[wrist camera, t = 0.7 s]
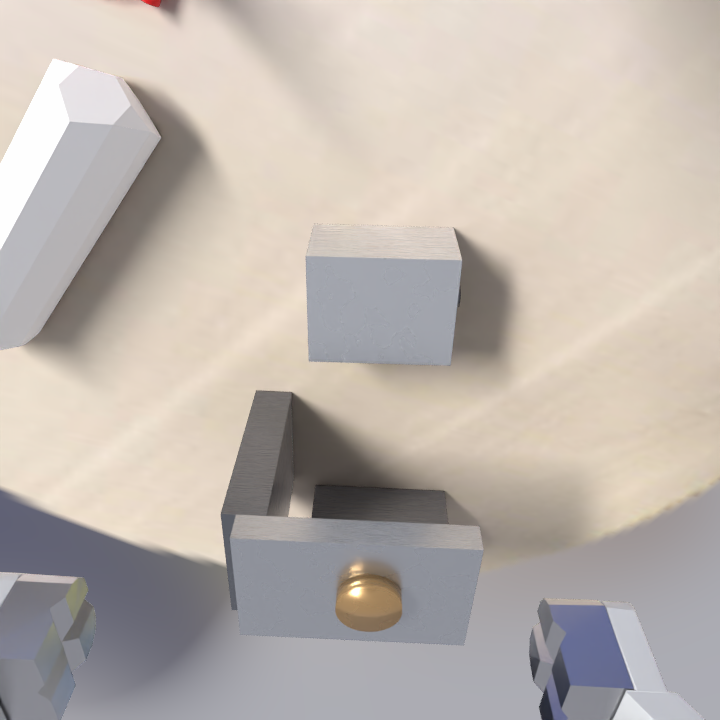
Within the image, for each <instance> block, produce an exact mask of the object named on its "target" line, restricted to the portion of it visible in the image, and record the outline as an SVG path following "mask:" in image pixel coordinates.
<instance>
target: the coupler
mask: <svg viewBox="0 0 720 720" xmlns="http://www.w3.org/2000/svg"><path fill="white" fill-rule="evenodd" d="M293 484H294V458H293V422H292V392H275V391H256V393H255V396H254V400H253V403H252V407H251V410H250V414H249V417H248V421H247V424H246V428H245V431H244V435H243V438H242V442H241V445H240V449H239V452H238V456H237V459H236V462H235V466H234V469H233V473H232V476H231V480H230V483H229V487H228V490H227V494H226V497H225V501H224V504H223V508H222V511H221V521H222V529H223V538H224V547H225V555H226V564H227V571H228V581H229V589H230V598H231V607H232V610H238V619H239V627H240V635H257V636H277V637H298V638H320V639H341V640H362V641H382V642H405V643H425V644H446V645H464V642H465V638H466V633H467V628H468V623H469V618H470V614H471V609H472V604H473V599H474V594H475V589H476V585H477V580H478V575H479V570H480V565H481V561H482V556H483V551H484V549H483V543H482V537H481V532H480V526H470V525H448V518H447V509H446V501H445V493H444V491H435V490H413V489H392V488H370V487H349V486H327V485H316V486H315V494H314V502H313V510H312V518H298V517H288V514H289V508H290V502H291V496H292V490H293Z"/></svg>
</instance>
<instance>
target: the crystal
mask: <svg viewBox="0 0 720 720" xmlns="http://www.w3.org/2000/svg"><path fill="white" fill-rule="evenodd" d="M65 108H66V109H65ZM81 122H82V123H81ZM94 123H95V124H94ZM106 124H108V125H106ZM115 125H116V126H115ZM121 126H122V127H121ZM126 127H127V128H126ZM137 129H138V130H137ZM160 139H161V136H160V134H159V133H158V131H157V129H156V127H155V126H154V124H153V122H152V121H151V119H150V117H149V115H148V114H147V112H146V111H145V109H144V108H143V106H142V104H141V103H140V101H139V100H138V98H137V97H136V95H135V94H134V93H133V91H132V90H131V89H130V87H129V86H128V85H127V83H126V82H125V81H124V79H123V78H122V77H118V76H115V75H111V74H108V73H104V72H101V71H97V70H94V69H90V68H87V67H83V66H79V65H76V64H72V63H69V62H65V61H62V60H58V59H53V60H52V62H51V64H50V66H49V68H48V70H47V72H46V74H45V76H44V78H43V80H42V82H41V84H40V86H39V88H38V90H37V92H36V94H35V96H34V98H33V100H32V102H31V104H30V106H29V108H28V110H27V112H26V114H25V116H24V118H23V120H22V122H21V124H20V126H19V128H18V130H17V132H16V134H15V136H14V138H13V140H12V142H11V144H10V146H9V148H8V150H7V152H6V154H5V156H4V158H3V160H2V162H1V164H0V350H3V349H9V348H14V347H19V346H22V345H25V344H26V343H27V342H29V341H30V340H31V339H32V338H34V337H35V336H36V335H37V334H39V333H40V331H41V329H42V328H43V326H44V325H45V323H46V321H47V320H48V318H49V317H50V315H51V313H52V312H53V310H54V309H55V307H56V305H57V304H58V302H59V301H60V299H61V297H62V296H63V294H64V293H65V291H66V289H67V288H68V286H69V285H70V283H71V281H72V280H73V278H74V277H75V275H76V273H77V272H78V270H79V269H80V267H81V265H82V264H83V262H84V261H85V259H86V257H87V256H88V254H89V253H90V251H91V249H92V248H93V246H94V245H95V243H96V241H97V240H98V238H99V237H100V235H101V233H102V232H103V230H104V229H105V227H106V225H107V224H108V222H109V221H110V219H111V217H112V216H113V214H114V213H115V211H116V209H117V208H118V206H119V204H120V203H121V201H122V200H123V198H124V196H125V195H126V193H127V192H128V190H129V188H130V187H131V185H132V184H133V182H134V180H135V179H136V177H137V176H138V174H139V172H140V171H141V169H142V168H143V166H144V164H145V163H146V161H147V160H148V158H149V156H150V155H151V153H152V152H153V150H154V148H155V147H156V145H157V144H158V142H159V140H160Z"/></svg>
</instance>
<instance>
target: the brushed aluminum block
mask: <svg viewBox="0 0 720 720" xmlns="http://www.w3.org/2000/svg"><path fill="white" fill-rule="evenodd" d="M461 268H462V257H461V253H460V250H459V246H458V242H457V239H456V235H455V231H454V227H420V226H383V225H346V224H314V225H313V229H312V233H311V237H310V241H309V245H308V249H307V253H306V284H307V317H308V349H309V361H314V362H347V363H381V364H415V365H448V366H450V365H451V357H452V348H453V339H454V330H455V321H456V312H457V307H459V305H460V296H461V289H460V277H461Z"/></svg>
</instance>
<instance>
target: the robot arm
mask: <svg viewBox="0 0 720 720" xmlns="http://www.w3.org/2000/svg"><path fill="white" fill-rule="evenodd" d="M87 592H88V587H87V584H86V582H85V579H84V578H80V577H65V576H51V575H37V574H23V573H4V572H0V720H61V718H62V716H63V714H64V711H65V709H66V707H67V704H68V702H69V700H70V697H71V695H72V693H73V690H74V688H75V681H74V678H73V674H72V672H73V671H74V670H75V669H77V668H78V667H79V666H80V665H81V664H82V663H83V662H85V661H86V659H87V657H88V654H89V652H90V649H91V647H92V644H93V639H94V634H95V630H96V615H95V611H94V607H93V606H92V605H91V604H90V603H89V602H87V601H86V600H85V596H86V594H87ZM538 615H539V619H540V622H539V623H538V624H536V625H535V626H533V628H532V632H531V637H530V648H529V657H530V666H531V671H532V676H533V681H534V683H535V684H536V685H537V686H538V687H539V688H540V690H541V691H542V692H543V696H542V699H541V703H540V706H539V710H540V714H541V719H542V720H705V719H704V718H703V717H702V716H701V715H700V714H699V713H698V712H697V711H696V710H695V709H693V708H692V707H691V706H690V705H689V704H688V703H687V702H686V701H685V700H684V699H683V698H682V697H681V696H680V695H679V694H678V693H676V692H668V690H667V688H666V685H665V683H664V680H663V678H662V675H661V673H660V671H659V668H658V665H657V663H656V660H655V658H654V656H653V653H652V651H651V648H650V646H649V643H648V641H647V638H646V636H645V633H644V631H643V628H642V626H641V624H640V621H639V618H638V616H637V613H636V611H635V608H634V607H633V606H632V605H631V604H630V603H629V602H613V601H598V600H581V599H549V598H544V599H543V600H542V601H541V602H540V605H539V608H538Z"/></svg>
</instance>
